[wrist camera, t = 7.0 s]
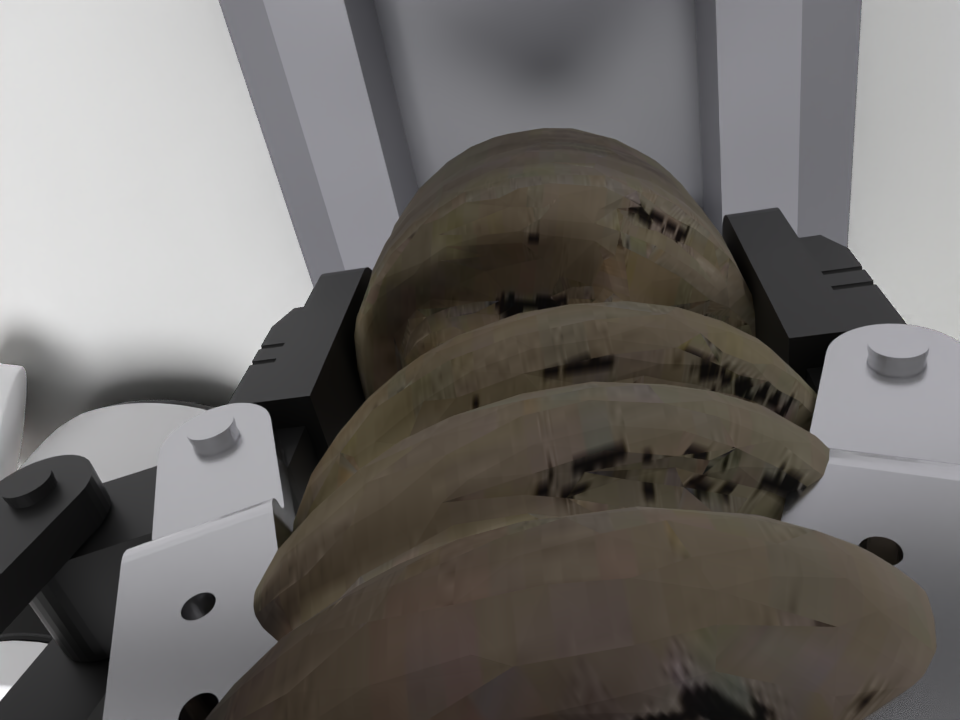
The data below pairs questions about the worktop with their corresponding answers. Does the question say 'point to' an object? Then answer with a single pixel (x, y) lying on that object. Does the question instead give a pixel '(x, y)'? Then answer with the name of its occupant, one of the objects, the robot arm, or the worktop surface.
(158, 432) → the spread jar
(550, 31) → the socket board
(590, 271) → the brown tall knobbly piece
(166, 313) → the worktop surface
